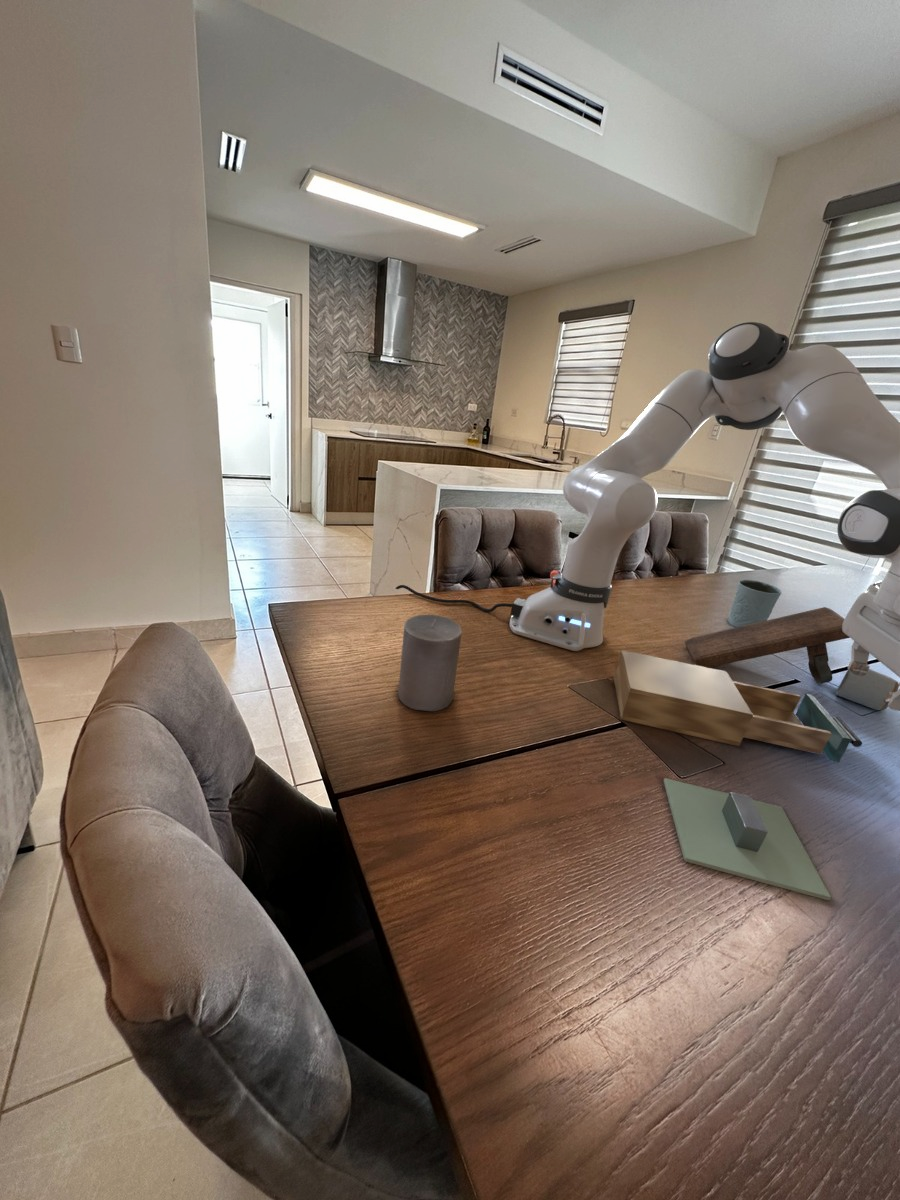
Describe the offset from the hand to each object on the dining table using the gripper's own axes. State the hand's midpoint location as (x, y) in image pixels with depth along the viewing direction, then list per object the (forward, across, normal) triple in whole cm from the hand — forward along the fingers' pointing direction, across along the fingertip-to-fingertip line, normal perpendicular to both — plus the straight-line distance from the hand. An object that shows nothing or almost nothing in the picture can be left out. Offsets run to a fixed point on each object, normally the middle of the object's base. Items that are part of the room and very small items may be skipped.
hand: (872, 689), depth 67 cm
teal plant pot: (+17, -66, +8) cm, 68 cm away
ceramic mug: (+17, -33, +21) cm, 43 cm away
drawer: (+16, -11, -3) cm, 20 cm away
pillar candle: (+17, +4, -65) cm, 67 cm away
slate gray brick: (+16, +17, -17) cm, 29 cm away
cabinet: (+17, -11, -21) cm, 29 cm away
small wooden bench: (+17, -37, +2) cm, 41 cm away
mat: (+17, +17, -18) cm, 30 cm away
